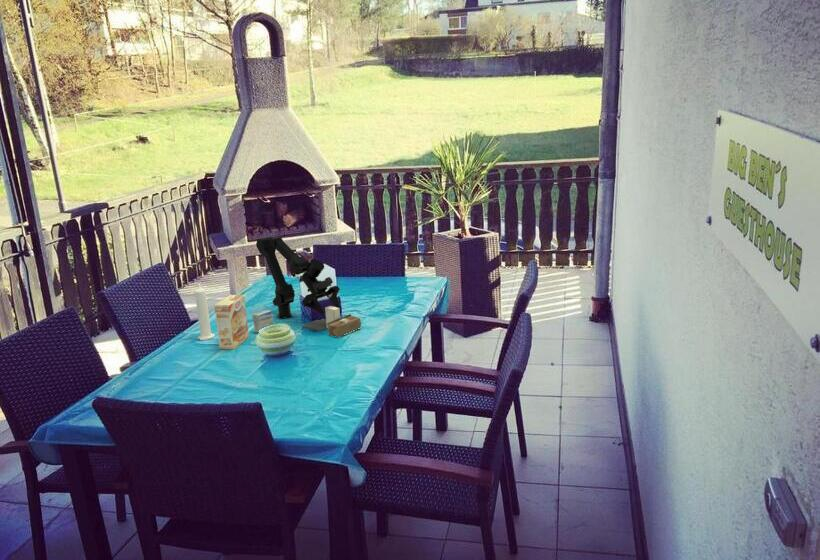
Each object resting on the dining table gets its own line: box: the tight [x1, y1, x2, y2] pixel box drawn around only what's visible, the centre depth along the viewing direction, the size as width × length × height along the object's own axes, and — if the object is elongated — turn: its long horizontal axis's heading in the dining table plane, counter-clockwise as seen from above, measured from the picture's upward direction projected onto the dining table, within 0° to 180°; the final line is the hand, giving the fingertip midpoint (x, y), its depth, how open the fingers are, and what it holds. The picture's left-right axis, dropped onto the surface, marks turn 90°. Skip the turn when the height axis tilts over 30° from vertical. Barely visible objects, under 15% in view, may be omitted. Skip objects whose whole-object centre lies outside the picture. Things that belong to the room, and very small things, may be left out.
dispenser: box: [327, 313, 362, 338], centre depth 294 cm, size 6×14×6 cm, turn 140°
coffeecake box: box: [214, 294, 250, 350], centre depth 285 cm, size 15×7×20 cm, turn 168°
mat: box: [301, 318, 327, 332], centre depth 304 cm, size 12×12×1 cm
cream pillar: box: [324, 305, 341, 328], centre depth 297 cm, size 6×3×10 cm, turn 50°
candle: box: [194, 282, 215, 341], centre depth 293 cm, size 7×7×25 cm
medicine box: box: [252, 309, 275, 334], centre depth 300 cm, size 8×4×9 cm, turn 143°
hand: (331, 310), depth 297 cm, fingers open, 9 cm apart
